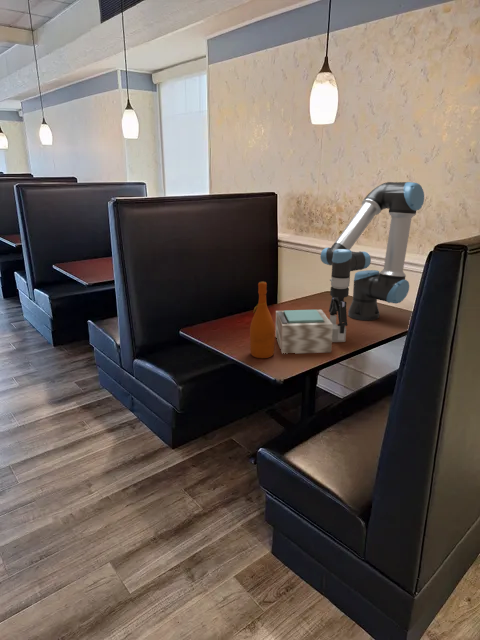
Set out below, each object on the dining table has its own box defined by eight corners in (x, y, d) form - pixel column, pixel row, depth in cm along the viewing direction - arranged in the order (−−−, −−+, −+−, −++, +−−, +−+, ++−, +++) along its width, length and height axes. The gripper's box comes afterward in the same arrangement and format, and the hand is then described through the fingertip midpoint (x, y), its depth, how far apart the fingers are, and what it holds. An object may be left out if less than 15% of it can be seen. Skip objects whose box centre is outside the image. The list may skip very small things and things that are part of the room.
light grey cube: (341, 336, 191) (342, 324, 190) (345, 341, 186) (346, 328, 184) (328, 337, 191) (328, 324, 189) (331, 342, 186) (332, 329, 184)
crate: (319, 335, 194) (321, 308, 190) (331, 352, 175) (332, 323, 171) (275, 336, 193) (275, 309, 189) (282, 353, 174) (282, 324, 170)
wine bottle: (271, 349, 179) (272, 278, 169) (277, 358, 170) (277, 284, 160) (248, 350, 178) (247, 279, 168) (252, 360, 168) (251, 285, 159)
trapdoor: (315, 311, 187) (315, 309, 187) (323, 322, 174) (323, 319, 174) (283, 312, 186) (283, 310, 186) (288, 323, 173) (289, 320, 173)
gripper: (323, 280, 193) (321, 325, 199) (338, 294, 169) (335, 345, 175) (340, 280, 193) (337, 325, 200) (357, 294, 169) (353, 344, 176)
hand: (336, 334), depth 187 cm, fingers open, 13 cm apart
